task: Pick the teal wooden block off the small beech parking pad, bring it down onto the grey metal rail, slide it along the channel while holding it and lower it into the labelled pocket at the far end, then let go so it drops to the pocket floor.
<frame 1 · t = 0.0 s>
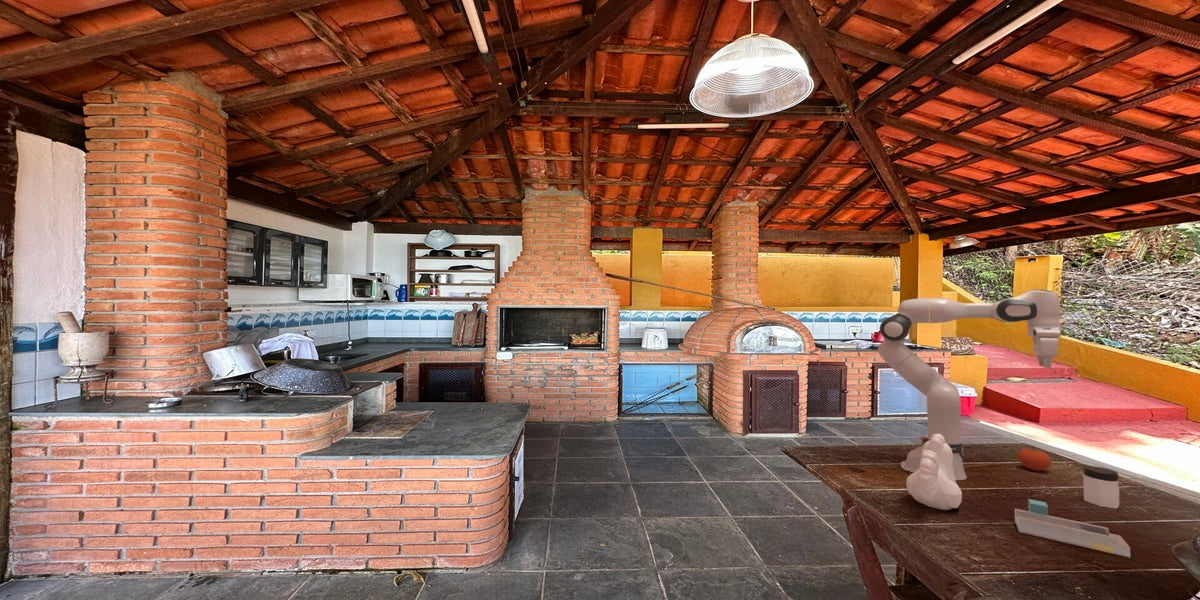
hand: (1044, 367, 162), 48 cm above the table, fingers open, 8 cm apart
tomato: (1034, 470, 185), on the table
rail: (1068, 542, 127), on the table
pad: (1038, 525, 137), on the table
block: (1038, 521, 137), point 1 cm above the table, touching pad
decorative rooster: (929, 506, 150), on the table
jar: (1101, 503, 153), on the table
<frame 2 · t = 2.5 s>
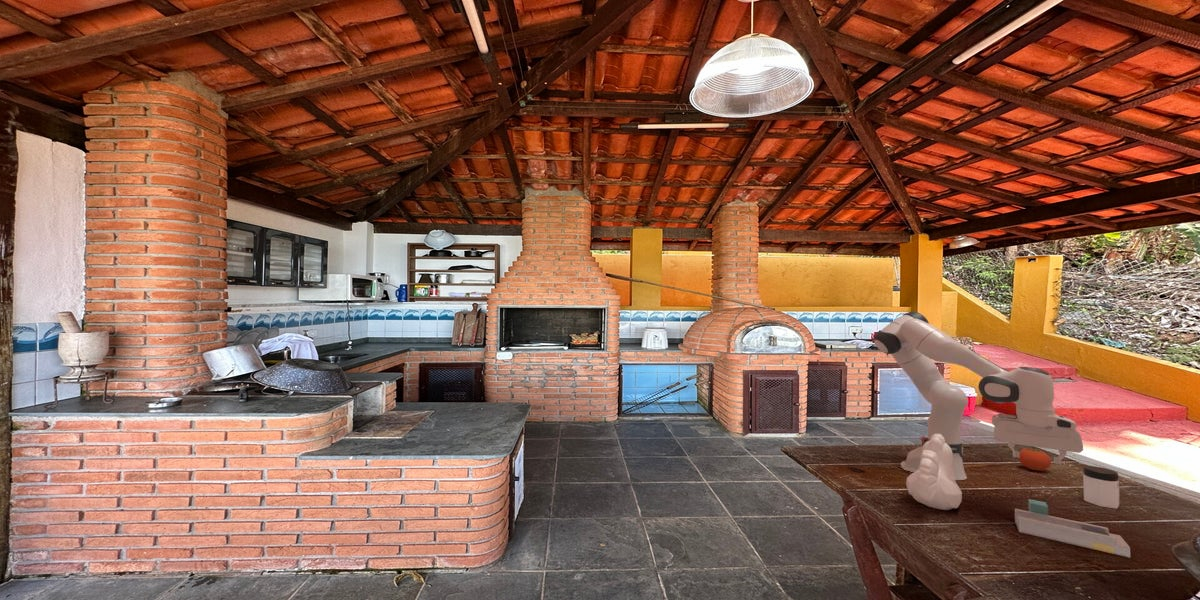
hand: (1036, 460, 137), 21 cm above the table, fingers open, 8 cm apart
nothing on the table moved.
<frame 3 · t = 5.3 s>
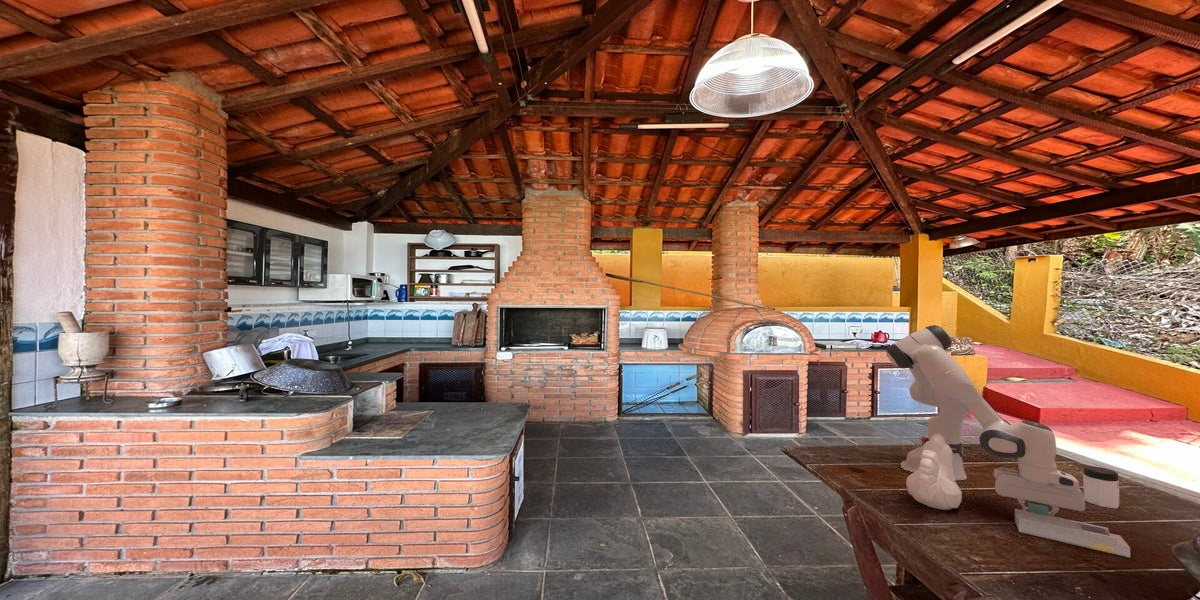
hand: (1038, 515, 137), 3 cm above the table, fingers closed on block, 4 cm apart
block: (1038, 521, 137), point 1 cm above the table, touching gripper, pad
everything else where it was.
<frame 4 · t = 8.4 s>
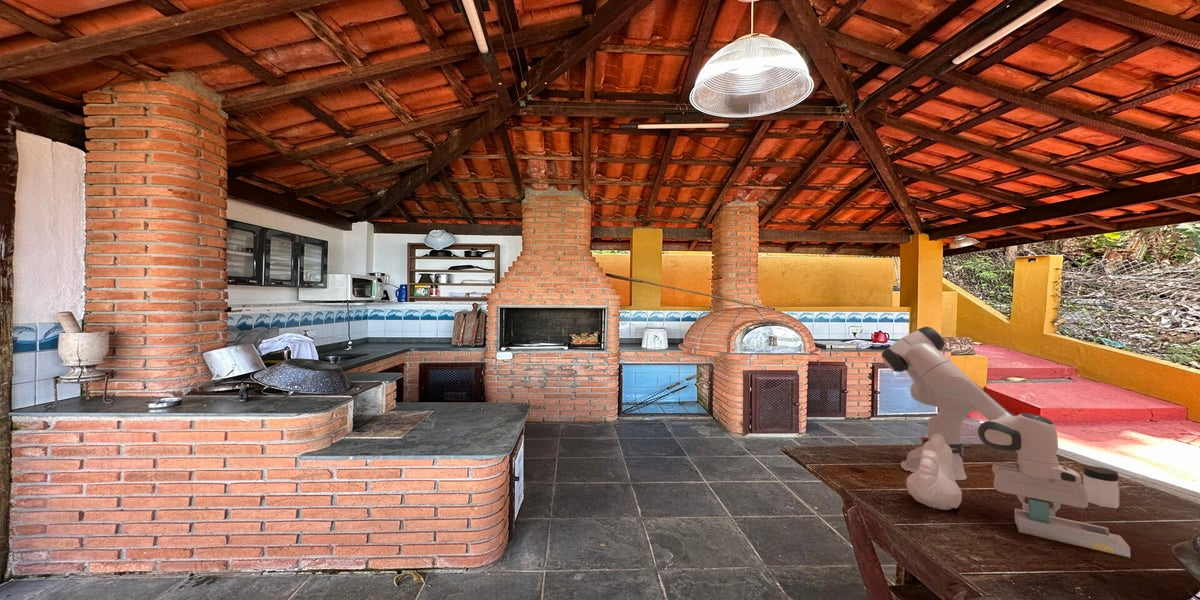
hand: (1038, 513, 131), 7 cm above the table, fingers closed on block, 4 cm apart
block: (1038, 518, 130), point 5 cm above the table, touching gripper
everything else where it was.
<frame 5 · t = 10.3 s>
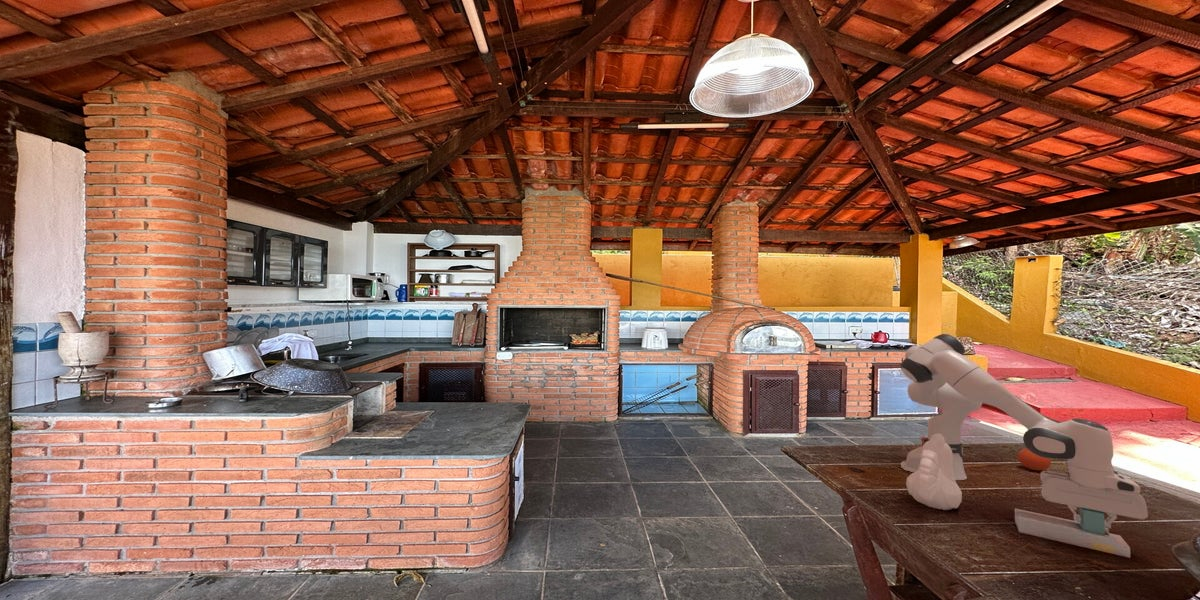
hand: (1092, 524, 124), 7 cm above the table, fingers closed on block, 4 cm apart
block: (1092, 530, 124), point 5 cm above the table, touching gripper
everything else where it was.
when the fingers open (4 cm above the table, at t = 11.9 s): block drops 1 cm, resting on rail.
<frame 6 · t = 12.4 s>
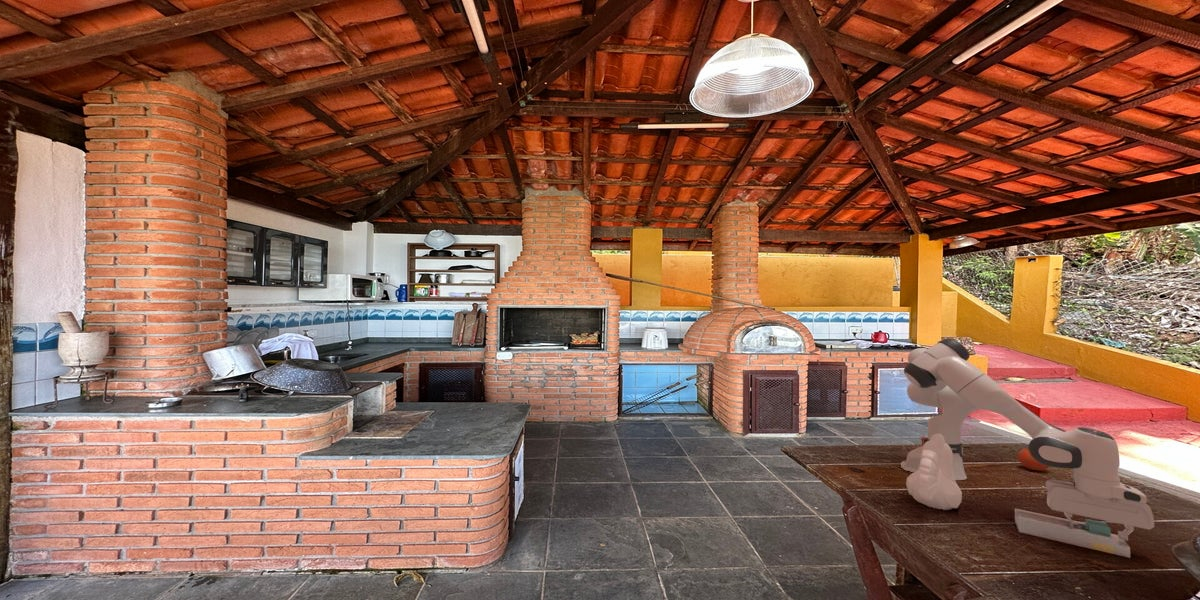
hand: (1097, 533, 123), 4 cm above the table, fingers open, 8 cm apart
block: (1098, 544, 123), point 1 cm above the table, touching rail
everything else where it was.
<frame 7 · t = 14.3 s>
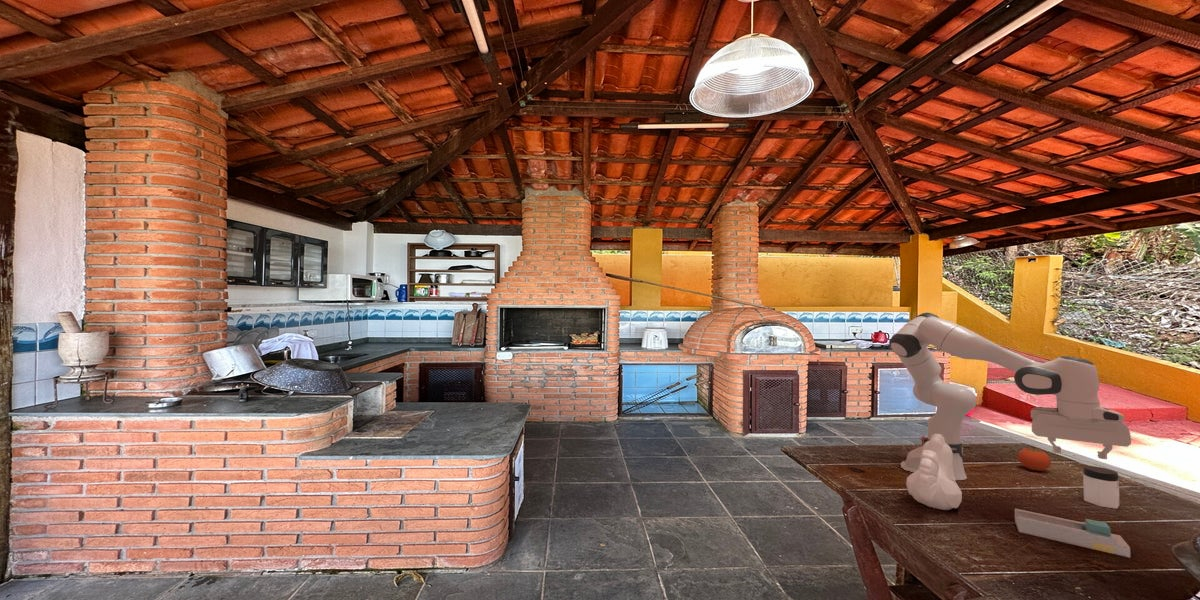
hand: (1079, 455, 130), 25 cm above the table, fingers open, 8 cm apart
nothing on the table moved.
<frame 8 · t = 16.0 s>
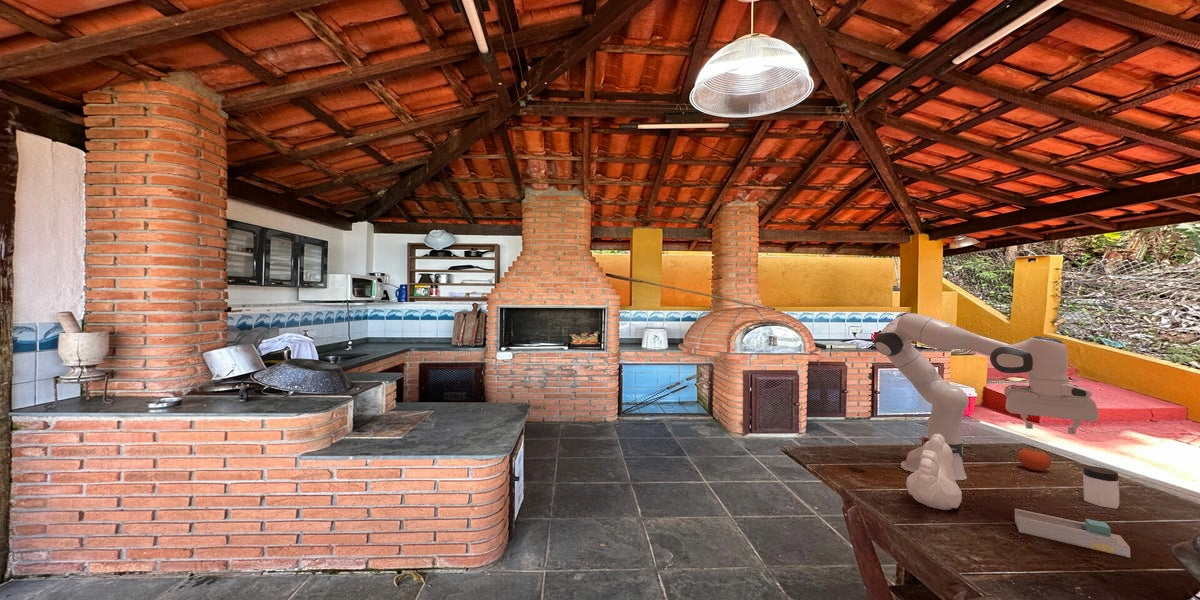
hand: (1050, 431, 135), 31 cm above the table, fingers open, 8 cm apart
nothing on the table moved.
at the end: block 0.1 cm from the target spot on the rail, point 1.5 cm above the rail's base; the gripper is holding nothing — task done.
